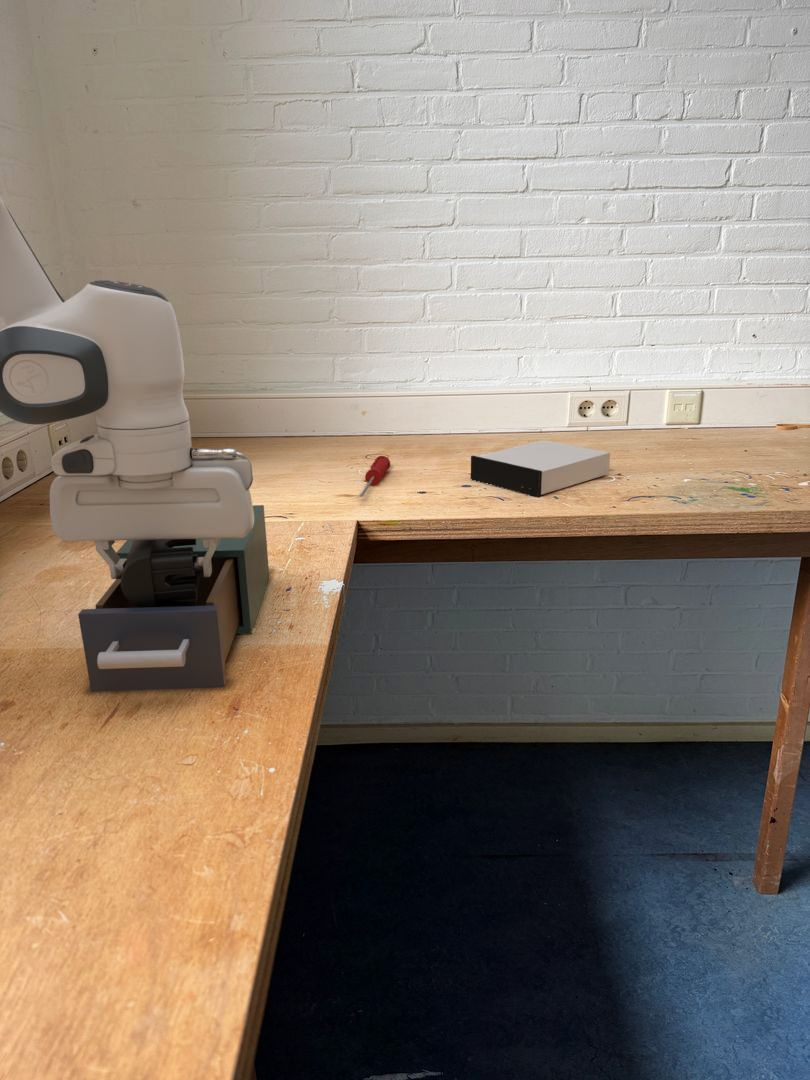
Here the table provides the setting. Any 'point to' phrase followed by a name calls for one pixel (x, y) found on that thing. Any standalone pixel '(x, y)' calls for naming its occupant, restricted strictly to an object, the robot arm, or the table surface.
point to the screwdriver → (376, 472)
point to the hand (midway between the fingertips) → (161, 576)
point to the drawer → (163, 637)
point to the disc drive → (539, 467)
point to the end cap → (160, 574)
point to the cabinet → (239, 566)
